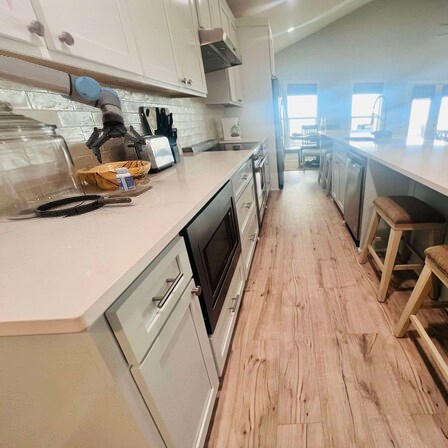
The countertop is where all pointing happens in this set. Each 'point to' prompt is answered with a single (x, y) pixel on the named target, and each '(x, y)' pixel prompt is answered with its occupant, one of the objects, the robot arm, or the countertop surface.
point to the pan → (79, 209)
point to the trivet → (128, 194)
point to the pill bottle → (125, 180)
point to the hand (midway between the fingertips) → (120, 159)
